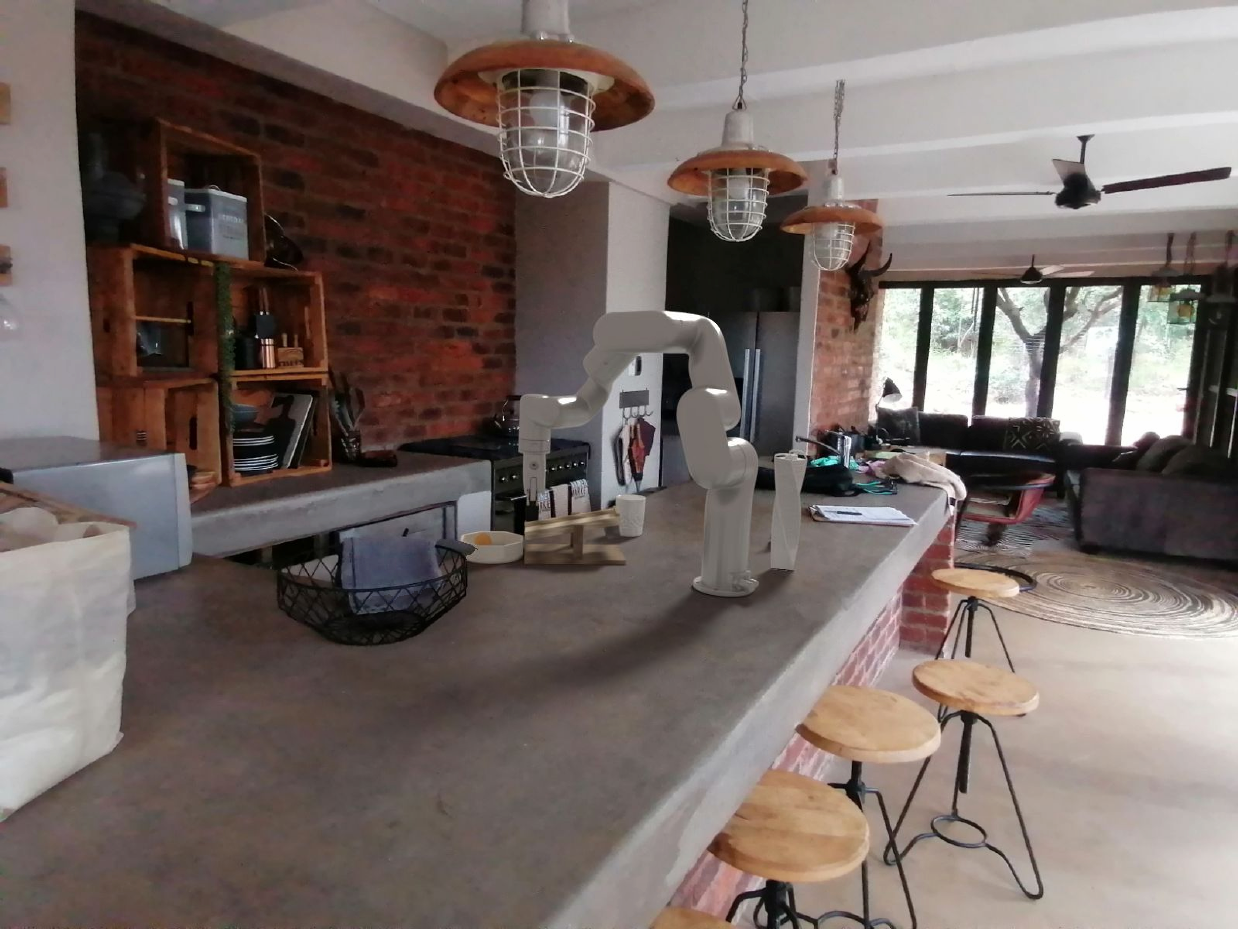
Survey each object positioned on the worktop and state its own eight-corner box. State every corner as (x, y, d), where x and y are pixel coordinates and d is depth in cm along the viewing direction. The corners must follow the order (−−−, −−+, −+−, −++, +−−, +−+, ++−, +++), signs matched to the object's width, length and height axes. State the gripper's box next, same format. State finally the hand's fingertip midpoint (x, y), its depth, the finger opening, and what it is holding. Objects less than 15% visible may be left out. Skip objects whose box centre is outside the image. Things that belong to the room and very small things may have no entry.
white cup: (641, 538, 206) (642, 500, 204) (611, 536, 207) (613, 498, 206) (646, 532, 214) (648, 495, 212) (617, 529, 215) (619, 493, 214)
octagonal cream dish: (523, 547, 192) (523, 531, 191) (523, 563, 178) (523, 546, 177) (462, 547, 190) (462, 530, 189) (457, 563, 176) (457, 545, 175)
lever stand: (618, 548, 194) (620, 512, 193) (625, 564, 181) (627, 525, 179) (524, 547, 192) (525, 511, 190) (524, 563, 178) (525, 524, 176)
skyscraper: (799, 573, 179) (809, 450, 175) (766, 570, 181) (774, 448, 177) (798, 564, 187) (807, 446, 183) (766, 561, 188) (775, 444, 184)
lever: (615, 522, 197) (612, 500, 196) (623, 537, 182) (619, 513, 181) (527, 536, 195) (524, 514, 194) (527, 553, 180) (523, 529, 179)
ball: (473, 531, 182) (468, 548, 182) (488, 538, 180) (483, 554, 181) (483, 530, 185) (478, 546, 186) (497, 537, 184) (492, 553, 184)
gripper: (551, 451, 182) (548, 528, 185) (549, 442, 197) (546, 514, 200) (518, 450, 181) (515, 528, 184) (518, 441, 196) (516, 514, 199)
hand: (531, 521), depth 192 cm, fingers closed
